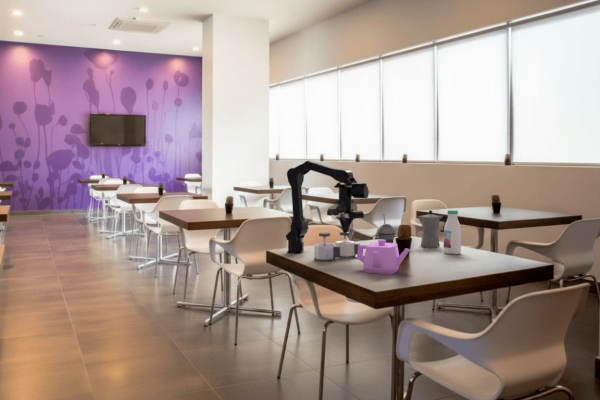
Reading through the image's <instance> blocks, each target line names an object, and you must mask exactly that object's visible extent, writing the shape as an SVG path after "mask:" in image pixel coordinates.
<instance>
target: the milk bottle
mask: <svg viewBox="0 0 600 400" xmlns="http://www.w3.org/2000/svg"><path fill="white" fill-rule="evenodd" d="M458 214H459V210H457V209H449V210H447V218H448V219H447V221H446V223H445V222H444V223H445V226H444V225H443V226H444V232H443V253H444V254H447V255H460V254H461V253H462V252H461V251H462V227H461V224H460V221H459V219H458Z"/></svg>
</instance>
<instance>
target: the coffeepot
mask: <svg viewBox="0 0 600 400" xmlns="http://www.w3.org/2000/svg"><path fill="white" fill-rule="evenodd" d="M428 212H429V213H427V214H424V215H423V214H422V215H418V216H416V218H418V221H419V222H420V223H421V226H422V227H421V228H422V230H423V231H422V232H423V233H422V236H421V237H422V238H421V242H420V247H422V248H427V249H428V248H429V249H431V248H432V249H433V248H435V249H436V248H440V247H441V246H440V239H439V234H438V230H439V226H440V221H441V220H442V221H443V220H444V223H443V226H442V229H441V230H439V232H441V233H444V226H445V223H446V221H447V219H448V216H447V215H436V214H433V210H428Z"/></svg>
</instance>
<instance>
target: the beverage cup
mask: <svg viewBox="0 0 600 400" xmlns="http://www.w3.org/2000/svg"><path fill="white" fill-rule="evenodd" d="M382 216H383V224H382V225H381V226H380V227H379V229H378V233H377V234H378V238H379V239H378V240H380V239H383V240H386V242H385V243H394V239H395V235H396V233H395V229H394V227H393V226H392V225H391V224H389V223H386V217H385V213H383V215H382Z"/></svg>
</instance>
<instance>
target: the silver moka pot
mask: <svg viewBox="0 0 600 400" xmlns="http://www.w3.org/2000/svg"><path fill="white" fill-rule="evenodd" d="M313 246H314V248H313V249H314V253H313V256H314V257H313V260H314V261H316V262H334V261H335V260H336V259H341V258H340V247H335V244H334V243H327V242H326V245H323V242H322V243H321V242H320V243H316V244H314V245H313Z"/></svg>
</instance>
